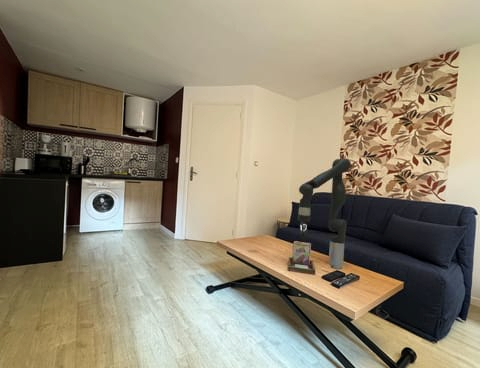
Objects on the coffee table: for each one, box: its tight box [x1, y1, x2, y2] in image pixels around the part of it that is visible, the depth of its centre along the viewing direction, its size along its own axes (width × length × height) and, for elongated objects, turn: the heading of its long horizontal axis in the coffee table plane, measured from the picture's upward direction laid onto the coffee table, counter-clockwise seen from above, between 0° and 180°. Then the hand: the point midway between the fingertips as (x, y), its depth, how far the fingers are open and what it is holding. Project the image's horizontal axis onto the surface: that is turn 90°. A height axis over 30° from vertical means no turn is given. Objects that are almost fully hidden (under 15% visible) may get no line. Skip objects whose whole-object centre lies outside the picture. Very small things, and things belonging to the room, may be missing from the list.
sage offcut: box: [294, 264, 309, 269], centre depth 145 cm, size 6×8×2 cm
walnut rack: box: [287, 257, 316, 276], centre depth 149 cm, size 19×16×4 cm
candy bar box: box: [291, 240, 312, 264], centre depth 154 cm, size 11×5×16 cm, turn 65°
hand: (302, 238), depth 154 cm, fingers open, 8 cm apart
